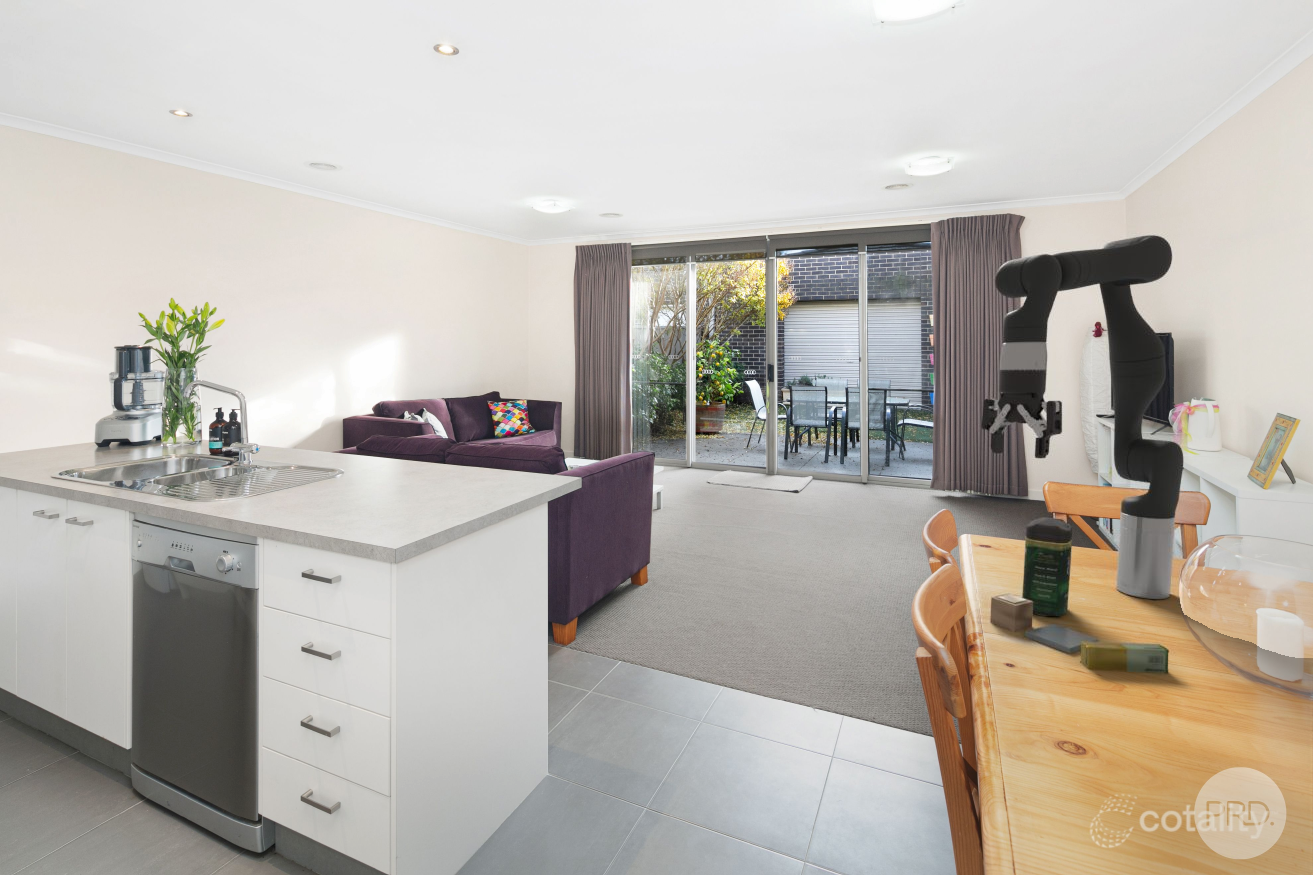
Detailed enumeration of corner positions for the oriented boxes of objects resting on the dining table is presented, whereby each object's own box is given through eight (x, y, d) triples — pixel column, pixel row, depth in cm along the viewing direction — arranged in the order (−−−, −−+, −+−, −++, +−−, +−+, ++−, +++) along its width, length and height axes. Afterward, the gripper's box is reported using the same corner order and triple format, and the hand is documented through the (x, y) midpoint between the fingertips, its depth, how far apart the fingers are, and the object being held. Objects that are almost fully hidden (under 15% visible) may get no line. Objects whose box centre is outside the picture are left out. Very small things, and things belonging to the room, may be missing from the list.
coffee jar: (1065, 621, 124) (1070, 526, 122) (1018, 612, 128) (1022, 521, 127) (1070, 606, 131) (1075, 517, 129) (1026, 598, 136) (1030, 512, 134)
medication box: (1159, 667, 105) (1160, 643, 104) (1169, 674, 102) (1170, 649, 102) (1079, 663, 107) (1079, 639, 106) (1087, 670, 104) (1088, 646, 104)
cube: (1007, 617, 126) (1008, 592, 125) (1031, 626, 121) (1033, 600, 121) (990, 622, 124) (991, 596, 123) (1014, 631, 119) (1015, 604, 119)
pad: (1053, 628, 120) (1053, 623, 120) (1098, 644, 113) (1098, 639, 113) (1025, 636, 117) (1025, 631, 117) (1069, 653, 109) (1069, 647, 109)
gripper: (1075, 367, 113) (1069, 458, 114) (1001, 368, 126) (997, 450, 127) (1047, 367, 110) (1042, 461, 111) (974, 368, 123) (971, 452, 124)
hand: (1018, 455), depth 119 cm, fingers open, 8 cm apart
